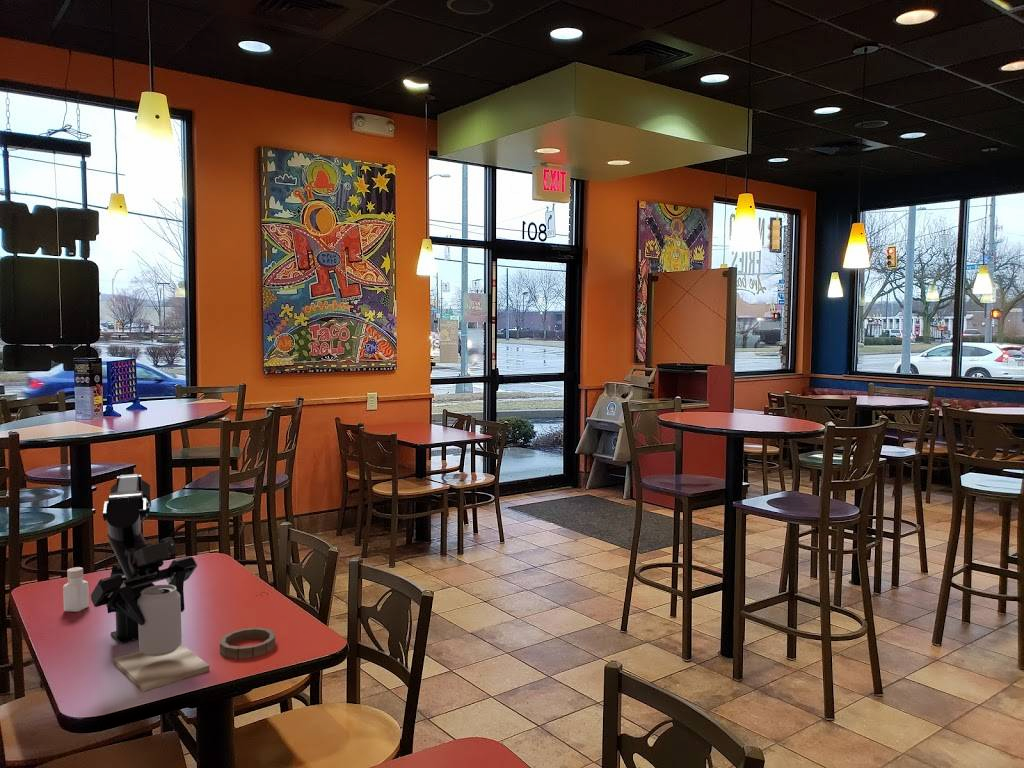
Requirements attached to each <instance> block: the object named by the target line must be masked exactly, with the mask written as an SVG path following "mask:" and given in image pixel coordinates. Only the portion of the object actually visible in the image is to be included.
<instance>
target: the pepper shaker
mask: <svg viewBox="0 0 1024 768" xmlns="http://www.w3.org/2000/svg"><path fill="white" fill-rule="evenodd" d="M66 571H67V572H66V573H67V574H66V575H67V577H66V578H67V583H65V584H64V585H63V586H62V592H63V594H62V596H63V597H62V598H63V599H62V600H63V610H64V612H75V613H77V612H78V613H79V612H81V611H83V610H85V609H86V608H89V606H90V594H89V593H90V592H89V590H90V589H89V582H88V581H87V580H84V568H83V567H80V566H76V567H71V568H68V569H67V570H66Z"/></svg>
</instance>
